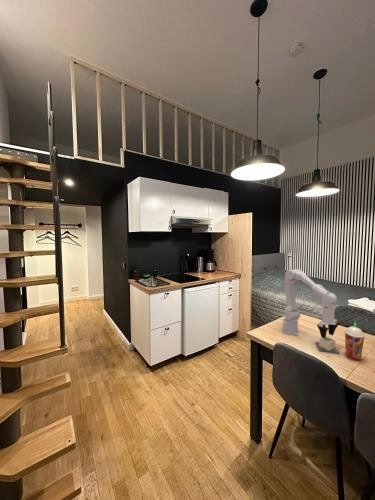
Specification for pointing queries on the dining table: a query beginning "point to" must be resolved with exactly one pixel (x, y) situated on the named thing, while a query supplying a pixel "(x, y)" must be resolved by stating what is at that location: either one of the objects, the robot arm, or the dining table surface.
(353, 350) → the smoothie
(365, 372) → the dining table surface
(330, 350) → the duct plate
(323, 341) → the collar
